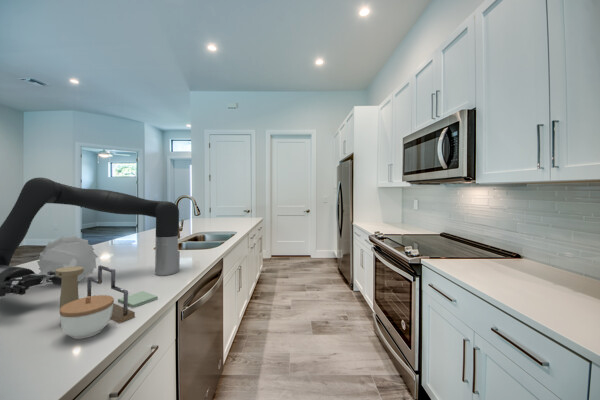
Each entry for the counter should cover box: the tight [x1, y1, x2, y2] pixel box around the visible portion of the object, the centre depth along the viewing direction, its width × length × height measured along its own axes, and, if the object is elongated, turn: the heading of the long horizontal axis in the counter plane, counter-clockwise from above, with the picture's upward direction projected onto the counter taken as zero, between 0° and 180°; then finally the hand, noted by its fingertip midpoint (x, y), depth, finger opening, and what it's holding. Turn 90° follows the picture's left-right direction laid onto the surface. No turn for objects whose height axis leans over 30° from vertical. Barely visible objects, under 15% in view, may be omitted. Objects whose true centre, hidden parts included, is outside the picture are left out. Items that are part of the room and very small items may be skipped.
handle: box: [55, 266, 84, 309], centre depth 69 cm, size 5×6×15 cm
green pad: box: [117, 290, 158, 309], centre depth 84 cm, size 8×9×1 cm
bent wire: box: [86, 265, 136, 324], centre depth 76 cm, size 4×24×14 cm, turn 62°
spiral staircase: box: [36, 235, 99, 282], centre depth 103 cm, size 18×18×25 cm
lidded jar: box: [59, 294, 115, 340], centre depth 64 cm, size 11×11×9 cm
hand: (44, 285), depth 72 cm, fingers open, 8 cm apart
